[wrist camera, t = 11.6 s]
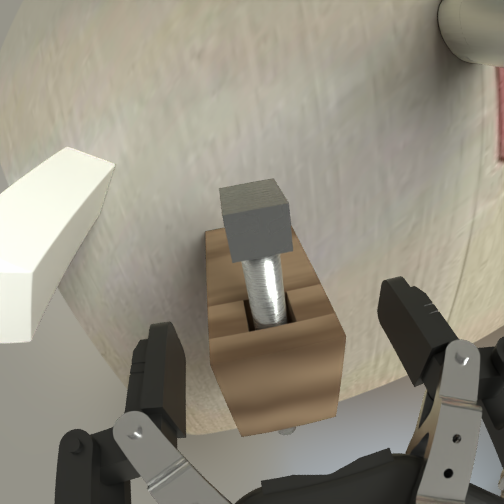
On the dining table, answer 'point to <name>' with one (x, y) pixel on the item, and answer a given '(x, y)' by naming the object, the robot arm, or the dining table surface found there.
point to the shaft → (259, 247)
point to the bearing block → (273, 344)
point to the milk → (45, 234)
